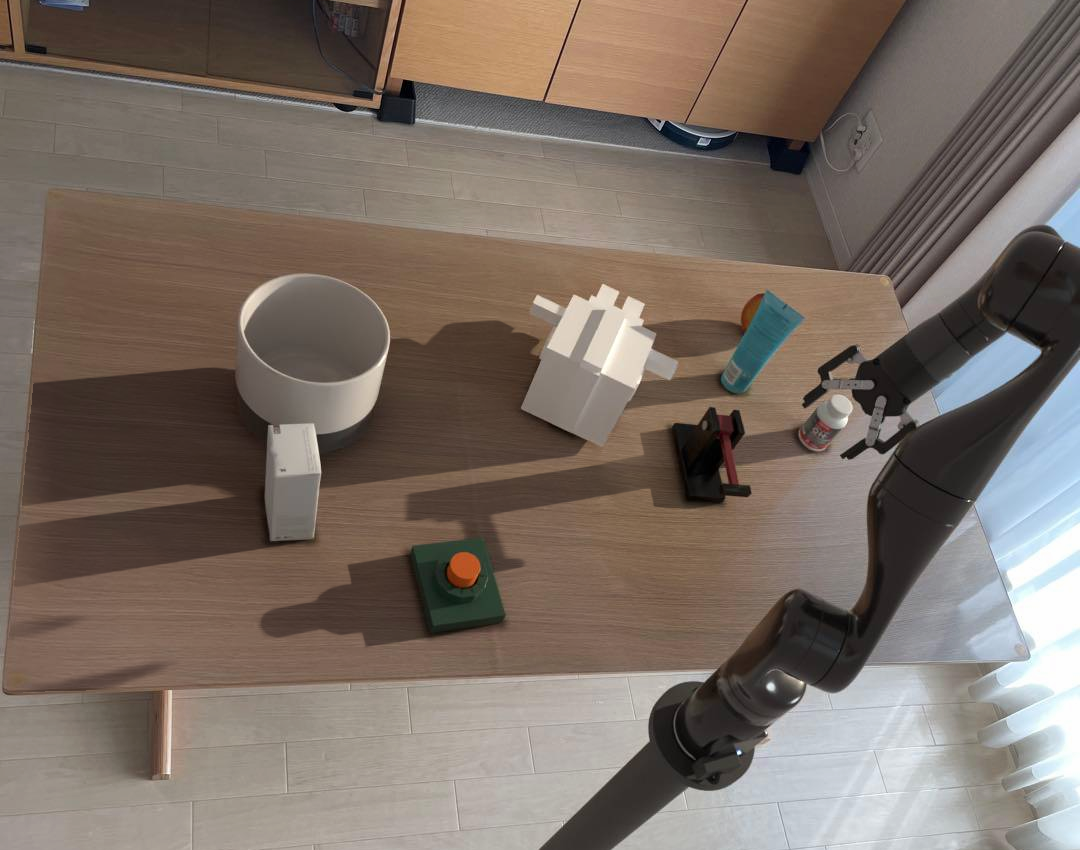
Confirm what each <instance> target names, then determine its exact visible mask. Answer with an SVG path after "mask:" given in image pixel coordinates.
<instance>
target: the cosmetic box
mask: <svg viewBox="0 0 1080 850" xmlns="http://www.w3.org/2000/svg"><path fill="white" fill-rule="evenodd" d="M320 459H321V458H320V453H319V451H318V445H317V438H316V432H315V427H314V424H313V423H307V424H283V425H268V438H267V442H266V461H265V480H264V481H265V482H264V506H265V513H266V520H267V521H266V522H267V527H268V533H269V541H270V542H279V541H306V540H313V539H314V538H315V529H316V521H317V513H318V503H319V502H318V501H319V493H320V484H321V483H320V482H321V476H322V467H321V460H320Z"/></svg>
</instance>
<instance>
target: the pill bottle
mask: <svg viewBox="0 0 1080 850" xmlns="http://www.w3.org/2000/svg"><path fill="white" fill-rule="evenodd" d="M853 407H854V406H853V404H852V402H851V401H850V400H849V399H848V398H847V397H846V396H844V395H842V394H834V395H831V397H830V398H829V399H828V400H825V401H822V402H821V403H819V405H818V406H817V407H816V408H815V410H814V411H813V412H812V414H810V416H809V417H808V418H807V419H806V421H805V422H804V423H803V424H802V425H801V427H800V428H799V430H798V439H799V441H800V442H801V444H802V445H803V446H804V447H805V448H806V449H808V450H811V451H814V452H822V451H824V450H825V449H826V448H827V447H828V446H830V444H831V443H832V442H833V441H834V440H835V438H836V437H837V436H838V435H839V434H840V432H842V430H843V429H844V428H845V427H846V425H847V424H848V420H849V416H850V414H852V411H853Z"/></svg>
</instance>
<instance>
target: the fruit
mask: <svg viewBox="0 0 1080 850" xmlns="http://www.w3.org/2000/svg"><path fill="white" fill-rule="evenodd" d="M764 294H765V292H764V293H763V292H761V293H756V294H755V295H754V296H753V297H751V298H750V299H749V300H748V301H747V302H746V303H745V304H744V306H743V309H742V310H741V314H740V324H741V328H742V329H741V330H742V331H743V333H744V334H745V332H746V330H747V329H748V327H749V325H750V323H751V321H752V319H753V317H754V315H755V313H756V311H757V309H758V307H759V305H760V303H761V301H762V299H763V296H764Z"/></svg>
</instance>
